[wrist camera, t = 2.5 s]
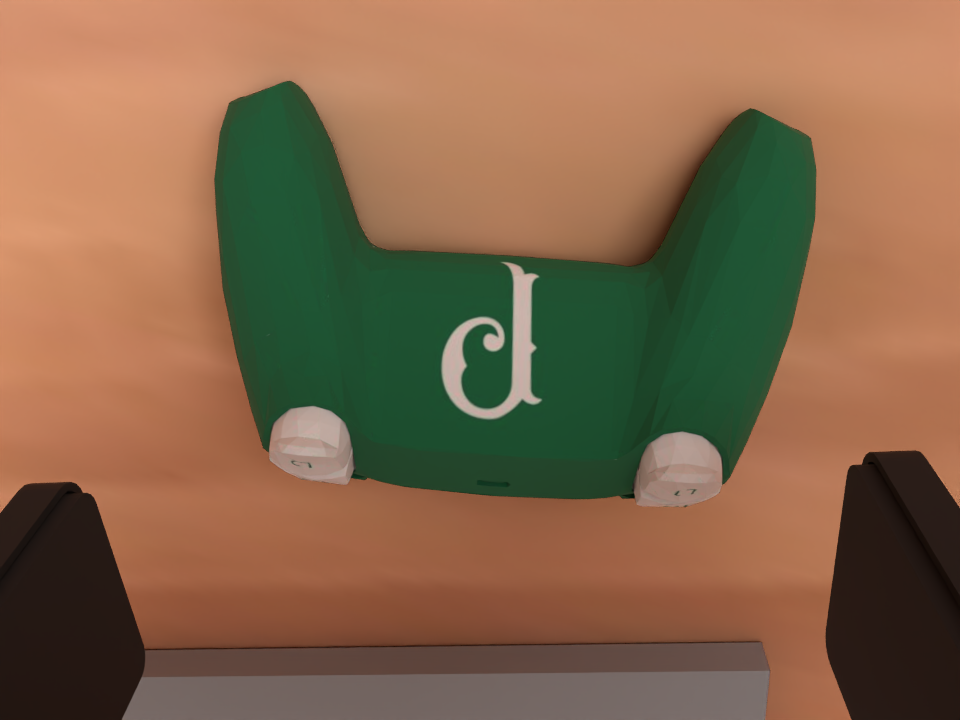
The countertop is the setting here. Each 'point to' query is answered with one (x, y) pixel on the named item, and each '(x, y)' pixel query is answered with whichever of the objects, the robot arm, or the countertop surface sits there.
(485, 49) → the countertop surface
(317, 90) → the countertop surface
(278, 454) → the gaming controller
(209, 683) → the slate mat
